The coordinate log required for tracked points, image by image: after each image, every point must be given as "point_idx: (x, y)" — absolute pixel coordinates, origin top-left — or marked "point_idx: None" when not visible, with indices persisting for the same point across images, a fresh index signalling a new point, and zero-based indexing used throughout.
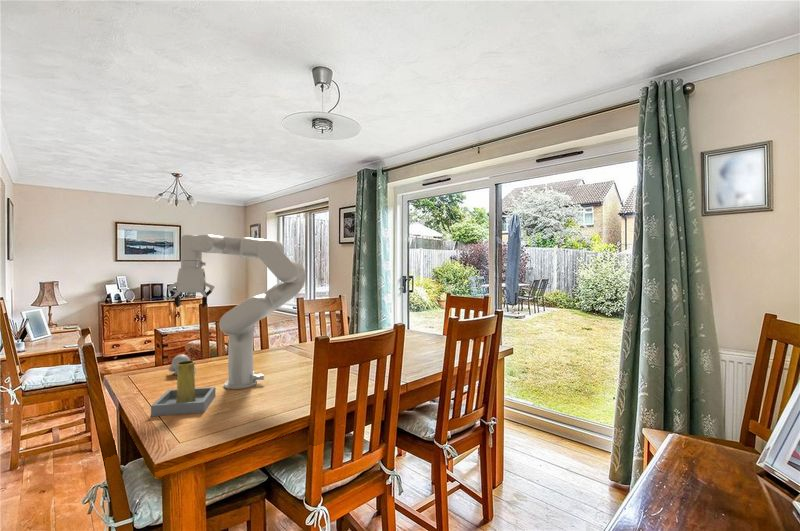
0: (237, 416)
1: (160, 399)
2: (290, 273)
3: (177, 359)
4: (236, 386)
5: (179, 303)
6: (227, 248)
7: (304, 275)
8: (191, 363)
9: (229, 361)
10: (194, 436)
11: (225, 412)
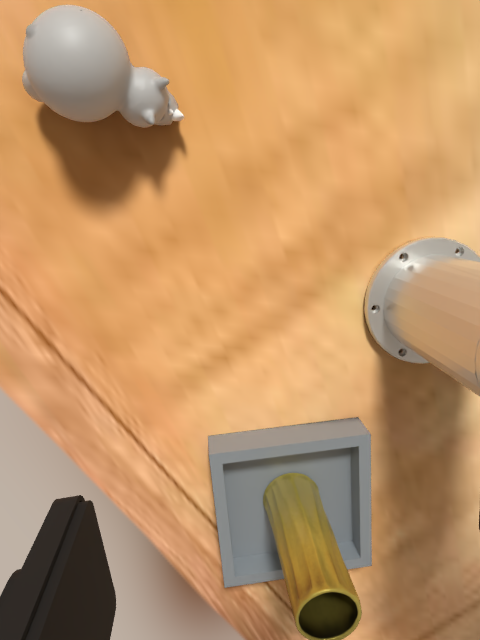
0: (453, 566)
1: (227, 542)
2: None
3: (70, 104)
4: (422, 359)
5: (84, 564)
6: None
7: None
8: (356, 625)
9: (443, 368)
10: None
11: (418, 542)
